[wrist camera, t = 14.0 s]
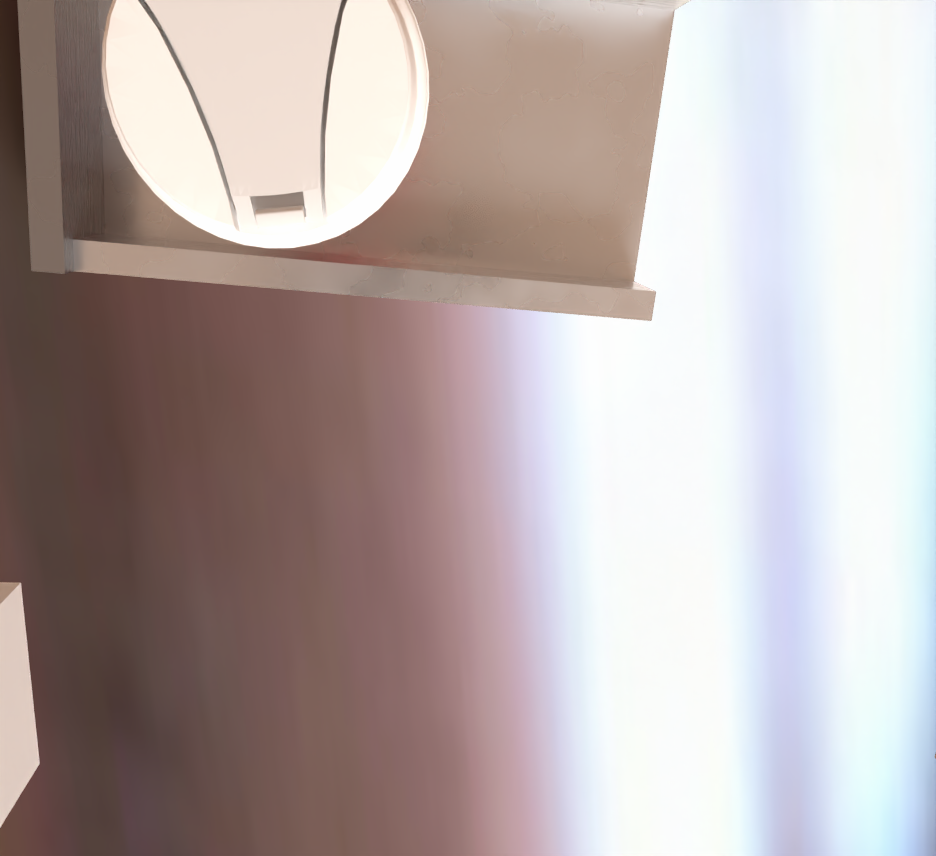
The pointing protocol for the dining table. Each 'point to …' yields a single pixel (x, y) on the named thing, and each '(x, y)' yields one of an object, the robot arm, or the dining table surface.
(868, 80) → the dining table surface
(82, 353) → the dining table surface
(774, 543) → the dining table surface
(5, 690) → the robot arm
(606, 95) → the channel
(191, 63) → the coffee cup
